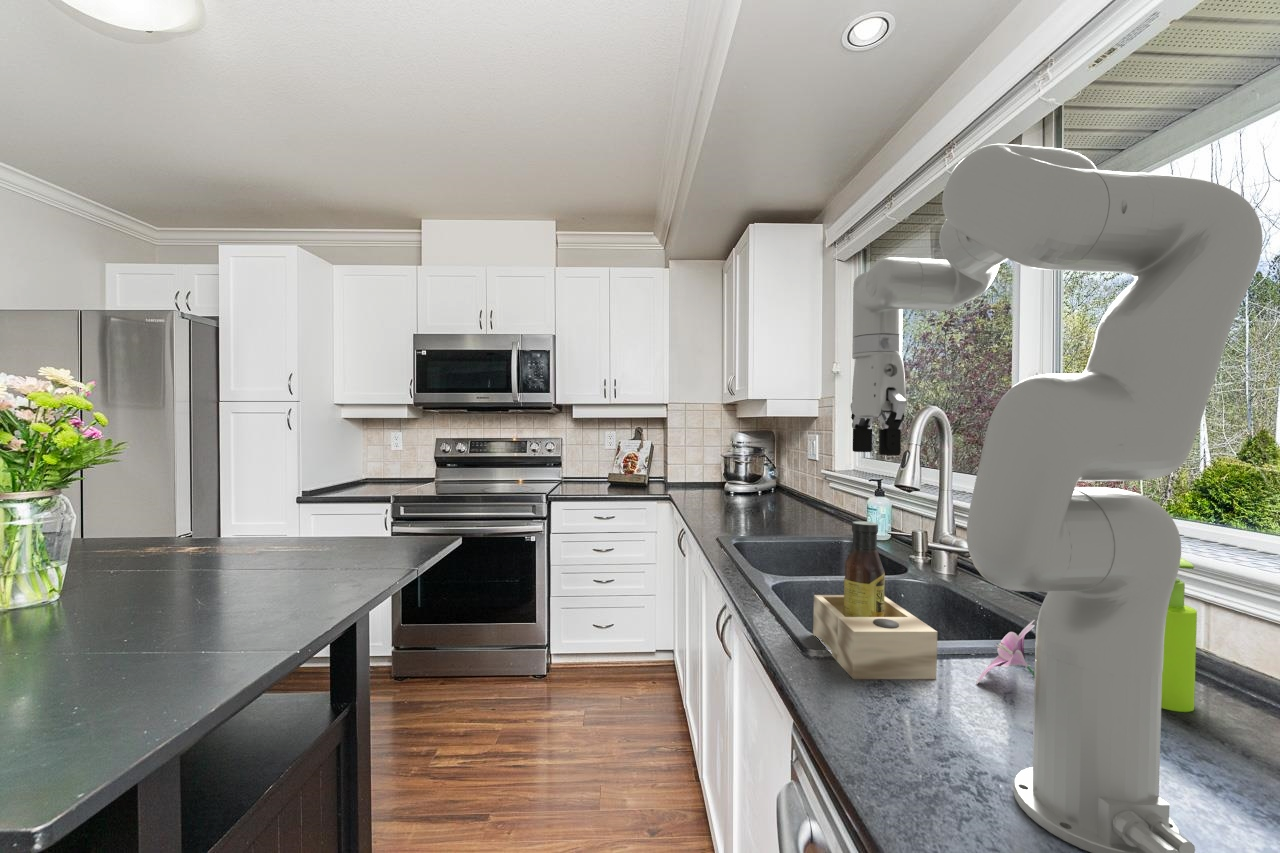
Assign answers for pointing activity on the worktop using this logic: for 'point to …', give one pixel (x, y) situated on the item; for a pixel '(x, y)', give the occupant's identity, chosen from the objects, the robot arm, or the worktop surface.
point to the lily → (1010, 651)
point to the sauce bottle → (864, 574)
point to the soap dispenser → (1179, 651)
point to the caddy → (876, 641)
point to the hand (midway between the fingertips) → (875, 453)
